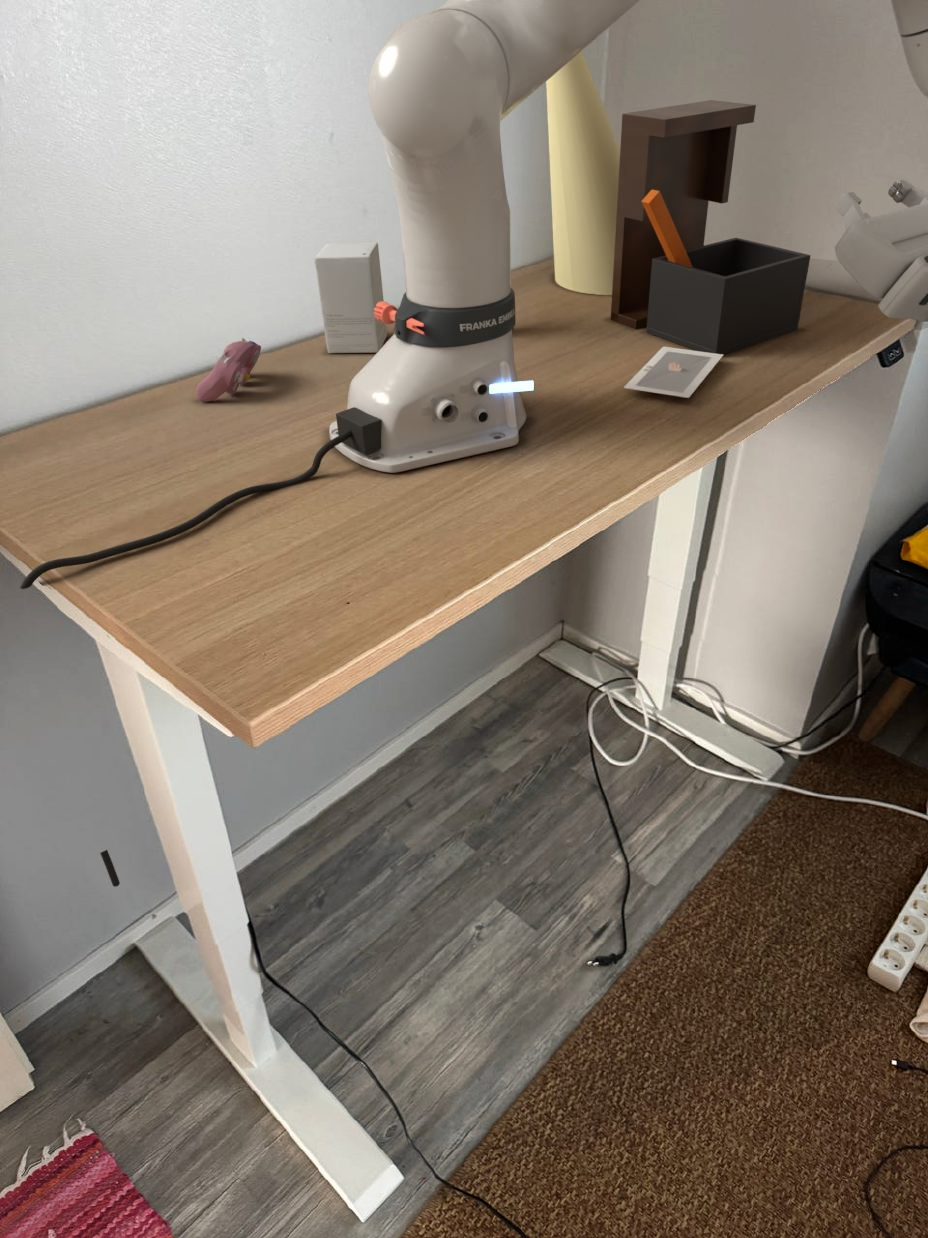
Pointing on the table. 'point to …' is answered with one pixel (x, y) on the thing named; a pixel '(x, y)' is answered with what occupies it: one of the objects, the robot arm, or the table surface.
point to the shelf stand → (668, 188)
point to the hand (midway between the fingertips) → (869, 191)
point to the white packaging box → (350, 297)
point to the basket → (727, 295)
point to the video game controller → (229, 370)
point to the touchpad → (674, 372)
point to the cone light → (582, 180)
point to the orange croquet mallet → (665, 228)
